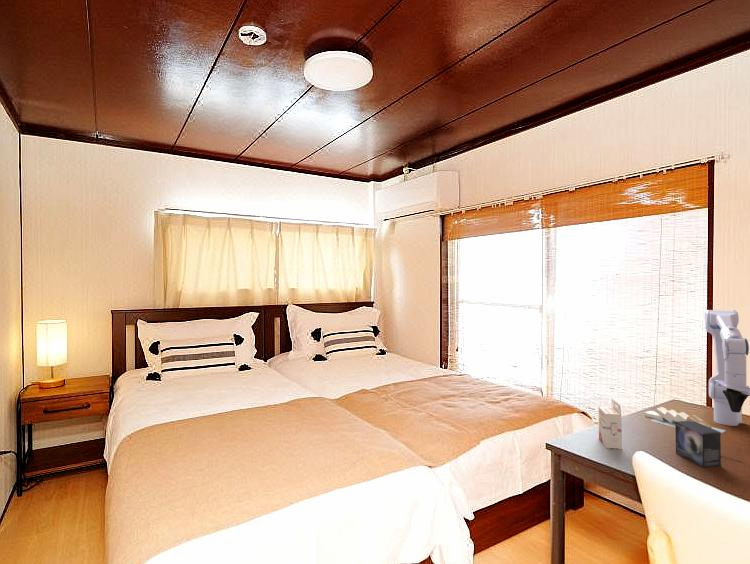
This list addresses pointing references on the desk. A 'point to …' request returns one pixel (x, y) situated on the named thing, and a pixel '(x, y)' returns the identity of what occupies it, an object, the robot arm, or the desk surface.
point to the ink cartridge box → (610, 426)
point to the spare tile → (698, 420)
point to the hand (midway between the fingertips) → (735, 411)
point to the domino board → (674, 424)
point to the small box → (698, 443)
